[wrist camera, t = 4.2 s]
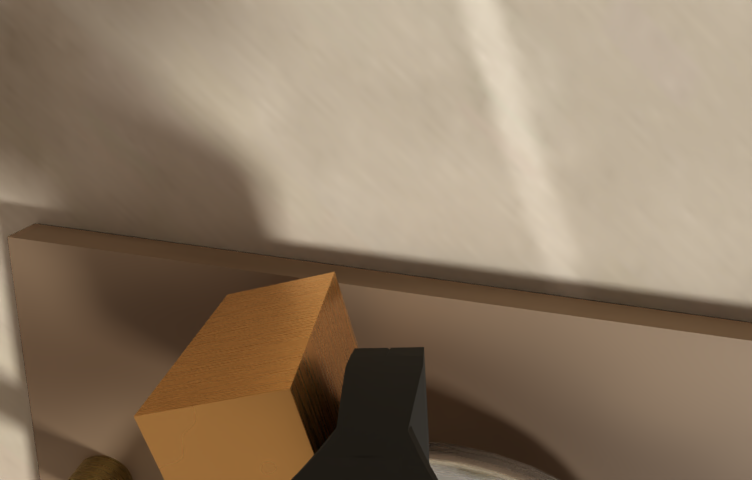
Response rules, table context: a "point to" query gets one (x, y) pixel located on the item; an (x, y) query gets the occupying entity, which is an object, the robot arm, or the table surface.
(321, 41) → the table surface
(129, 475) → the dowel
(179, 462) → the disc with block handle
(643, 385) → the flat brown board
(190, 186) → the table surface
